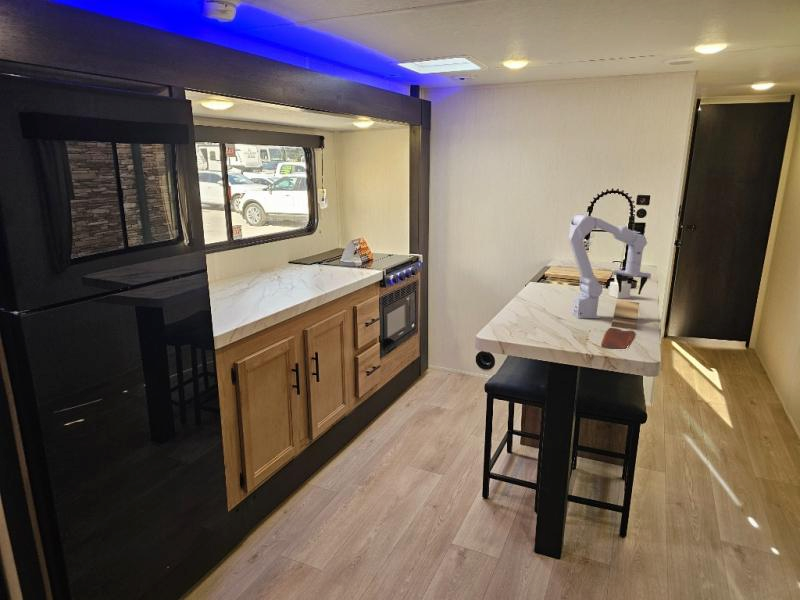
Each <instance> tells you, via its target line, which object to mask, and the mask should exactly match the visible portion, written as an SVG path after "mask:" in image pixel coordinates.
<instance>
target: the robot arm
mask: <svg viewBox="0 0 800 600" xmlns="http://www.w3.org/2000/svg"><path fill="white" fill-rule="evenodd" d="M569 225H570V228H569V233H568V241H569V242H568V243H569V244H570V248H571V251H572V254H573V258H574V261H575V263H576V267H577V270H578V272H579V275H580V277H579V290H580V292H581V293H580V295H576V296H575V297H574V300H573V308H572V309H573V310H572V311H571V312H572V313H571V314H572V315H574V316H575V317H576V318H578V319H601V316H600V315H598V306H599V297H600V296H601V295H602V293H603V286H602V285H601V284H600V283H599V280H598V278H597V277H596V275H594V272H593V268H592V266H591V261H590V259H589V255H588V252H587V249H586V245H585V243H584V239H585V238H586V236H587V235H588V234H590V232H591V231H593V230H597V229H600V230H602V231H605V232H606V233H609V234H612V236H613V239H615V240H618V241H620V242H622V243H623V244H626V245H627V246H628V249H627V257H626V264H625V270H619V269H614V270H613V276H615V275H616V279H617V282H618V286H619V292H621V286H622V278H623V276H628V277H632V278H633V277H634V278H640V283H639V284H640V285H639V289H638V292H637V293H638V295H641V292H642V290H643V288H644V286H645V285H646V283H647V281H648V279H649V280H651V277H652V273H649V272H643V271H641V266H642V259H643V252H644V249H645V247H646V246H647V245H648V241H647V238H646V236H645V235H643V234H640V233H638V232H637V230H631V229H629V228H628V226H626V225H619V226H615V225H613V224H611V223H609V222H607V221H605V220H603V219H601V218H598V217H594V216H591V215H585V214H582V213H577V214H576V215H574V216H573V218H572V219H571V221H570V222H569ZM627 274H628V275H627Z"/></svg>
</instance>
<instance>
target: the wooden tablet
mask: <svg viewBox="0 0 800 600" xmlns="http://www.w3.org/2000/svg"><path fill="white" fill-rule="evenodd" d="M635 334H636V332H635V331H634V330H622V329H619V328H618V327H609V328H608V329H607V330H606V331H605V333H604V335H603V338H602V341H601V344H600V346H601V348H604V349H608V350H613V349H626V348H627V346H628V345H629V344H630V345H631V342H632V340H633V338H634V336H635ZM630 345H629V346H630Z"/></svg>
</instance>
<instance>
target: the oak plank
mask: <svg viewBox="0 0 800 600" xmlns="http://www.w3.org/2000/svg"><path fill="white" fill-rule="evenodd" d="M639 309H640V302H637V301H636V302H635V301H628V300H626V301H625V300H619V299H616V303H615V307H614V311H613V316H622V317H629V318H637V319H638V315H639V314H638V313H639Z"/></svg>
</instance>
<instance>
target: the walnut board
mask: <svg viewBox="0 0 800 600" xmlns="http://www.w3.org/2000/svg"><path fill="white" fill-rule="evenodd" d="M637 321H638V317H637V318H629V317H622V316H614V315H613V318H612V320H611V325H610V326H611V327H612V328H622V329H628V328H630V329H629V330H636V329H637V328H636V327H637Z"/></svg>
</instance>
